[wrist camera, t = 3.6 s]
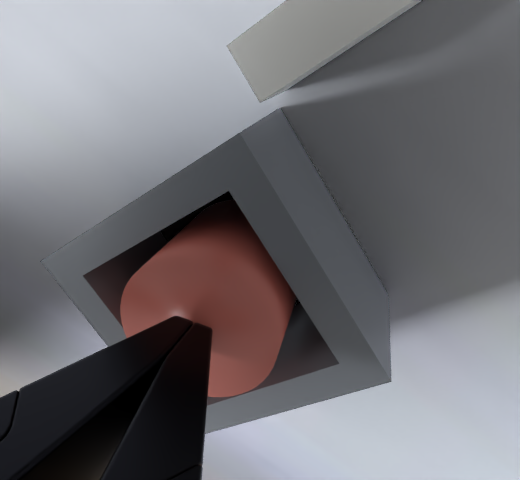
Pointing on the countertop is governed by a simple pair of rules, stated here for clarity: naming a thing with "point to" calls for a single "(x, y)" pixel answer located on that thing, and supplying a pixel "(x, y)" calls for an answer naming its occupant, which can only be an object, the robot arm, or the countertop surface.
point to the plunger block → (283, 254)
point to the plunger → (217, 295)
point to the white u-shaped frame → (306, 39)
